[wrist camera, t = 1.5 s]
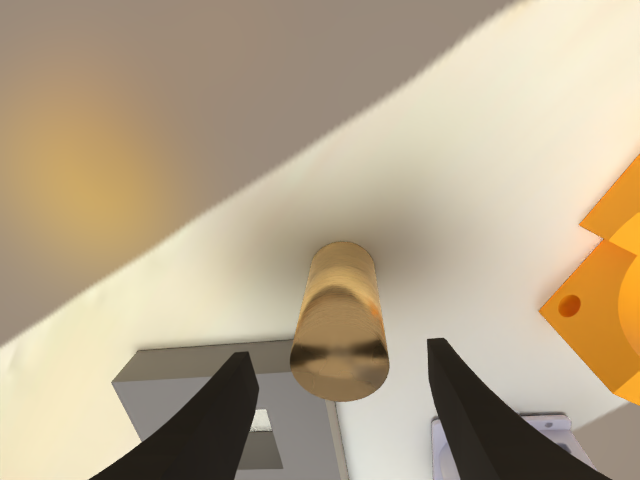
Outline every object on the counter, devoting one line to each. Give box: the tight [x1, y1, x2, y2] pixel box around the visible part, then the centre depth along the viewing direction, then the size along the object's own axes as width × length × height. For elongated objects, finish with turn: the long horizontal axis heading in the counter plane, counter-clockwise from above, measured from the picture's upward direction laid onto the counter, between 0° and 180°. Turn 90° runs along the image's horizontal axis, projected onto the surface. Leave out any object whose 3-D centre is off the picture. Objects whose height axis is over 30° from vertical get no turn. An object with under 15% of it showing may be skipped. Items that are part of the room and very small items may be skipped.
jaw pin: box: [290, 242, 389, 402], centre depth 17 cm, size 4×4×8 cm
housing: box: [111, 340, 349, 480], centre depth 26 cm, size 14×18×3 cm
